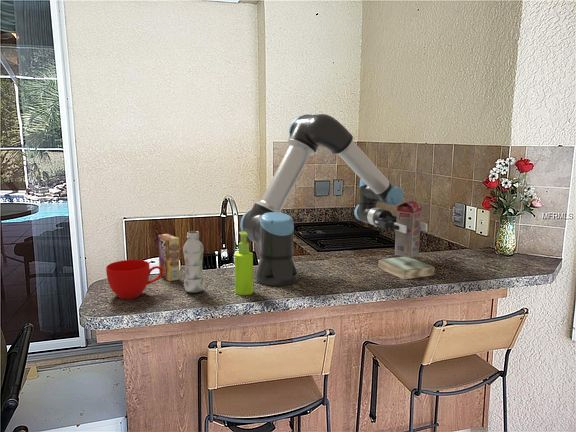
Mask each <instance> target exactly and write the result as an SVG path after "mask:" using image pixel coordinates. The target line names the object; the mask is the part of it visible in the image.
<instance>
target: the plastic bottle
mask: <svg viewBox="0 0 576 432" xmlns="http://www.w3.org/2000/svg"><path fill="white" fill-rule="evenodd" d="M199 238H200V232H199V231H196V230H191V231H190V230H189V231H187V233H186V239H187V240H186V241H185V243H184V244H183V246H182V252H183V258H184V264H185V265H184V266H185V271H184V272H185V273H184V274H185V275H184V281H183V287H184V290H185V291H186V292H188V293H193V294H195V293H199V292H200V293H201V292H202V291H203V290H204V289H205V285H206V284H205V283H206V282H205V277H204V272H203V258H204V245H203V244H202V242H201V241H200V240H199Z"/></svg>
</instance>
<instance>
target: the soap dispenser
mask: <svg viewBox="0 0 576 432" xmlns="http://www.w3.org/2000/svg"><path fill="white" fill-rule="evenodd" d="M238 234H239V235H240V242H238V251H237V252H235V253H234V293H235V294H236V295H238V296H250V295H252V294H254V254H253V252H251V251H250V243H249V242H248V241H247V238H246V236H248V234H247V233H246V232H245V231H244V232H242V231H238Z"/></svg>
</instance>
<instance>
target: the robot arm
mask: <svg viewBox="0 0 576 432" xmlns="http://www.w3.org/2000/svg"><path fill="white" fill-rule="evenodd" d="M289 125H290V126H289V129H288V133H289V137H288V139H287V143H288V147H287V149H286V152H285V153H284V156H283V157H282V159H281V161H280V164H279V165H278V168H277V169H276V171H275V173H274V174H273V177H271V178H272V179H271V180H270V183H269V185H268V186H267V188H266V190H265V191H264V194H263V196H262V197H261V200H259V201H256V202H254V204H253V206H252V208H251V209H250V210H248V211H245V213H243V215H242V217H241V219H240V224H239V225H240V226H239V227H240V230H241V231H240V232H244V231H245V232H246V233H247V234H248V236H246V240H247V239H248V240H249V241H251V242H253V243H255V244H258V245H260V246H259V247H260V249H259V250H260V255H259V257H260V259H259V262H258V264H257V267H256V270H255V281H256V282H257V283H259V284H262V285H266V286H274V287H275V286H277V287H278V286H279V287H280V286H281V287H282V286H288V285H292V284H294V283H296V282H297V281H298V280H299V279H298V277H299V276H298V275H299V274H298V270H297V268H296V264H295V261H294V230H295V225H294V219H293V218H292V216H291V215H289V214H286V213H284V212H282V209H283V208H284V205H285V203H286V202H287V201H288V197H289V195H290V194H291V192H292V190H293V188H294V186H295V184H296V182H297V180H298V179H299V176H300V174H301V173H302V171H303V169H304V167H305V165H306V162H307V161H308V159H309V157H312V156H313V155H315V154H316V152H317V150H318V148H319V147H324V148H326V149H327V150H328V151H330V152H331V153H332V154H333V155H337V156H338V157H340V158H341V159H342V160H343V161H344V163H345V164H346V165H347V166H348V167H349V168H350V169H351V171H353V172H354V173H355V174H356V175H357V176H358V177H359V179H360V180H359V197H358V199H359V200H358V202H359V203H358V205H356V207H355V208H354V212H353V213H354V217H355V218H356V220H358V221H361V222H363V223H366V224H370V225H372V226H374V227H375V228H377V227H378V228H380V229H384V230H386V231H387V230H389V231H390V232H394V231H395V232H396V231H399V232H402V233H406V231H407V226H405V225H402V224H399V223H396V221H397V215H393V213H392V212H391V211H390V210H387V209H384V208H380V207H377V205H378V204H377V203H382V204H386V205H390V206H399V205H401V203H402V201H403V200H404V196H405V195H404V194H405V193H404V190H403V189H402V188H401V187H400V186H396V185H393V184H392V183H391V182H390V181H389V180H388V178H387V177H386V176H385V175H384V174H383V173H382V172H381V171H380V169H379V168H378V167H377V166H376V165H375V164H374V163H373V161H372V160H371V159H370V158H369V157H368V156H367V155H366V154H365V153H364V151H363V150H362V149H361V148H360V147H359V146H358V144H357V143H355V141H354V136H353V134H352V133H351V132H350V131H349V130H348V129H347V128H346V127H345V126H344V124H342V123H341V122H339V120H338V119H336V118H334V117H333V116H331V115H329V114H326V113H319V114H310V113H309V114H302V115H299V116H297V117H295V118H294V119H293V120H292V122H291V123H290V124H289ZM420 231H424V232H427V231H428V223H425V222H423V221H421V224H420Z"/></svg>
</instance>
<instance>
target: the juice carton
mask: <svg viewBox="0 0 576 432" xmlns="http://www.w3.org/2000/svg"><path fill="white" fill-rule="evenodd" d="M396 206H397V207H396V217H397V221H396V223H399V224H402V225H405V226H407V231H406V233H402V232H399V231H396V230H395V241H394V244H395V245H394V255H395V256H399V257H410V258H414V257H415V256H417V255H419V253H420V241H421V239H420V237H421V230H420V224H421V222H422V205H421V204H419V203H418V202H416V201H415V196H409V197H406V198H405V201H404V203H402V204H401V203H400V204H398V205H396Z"/></svg>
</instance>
